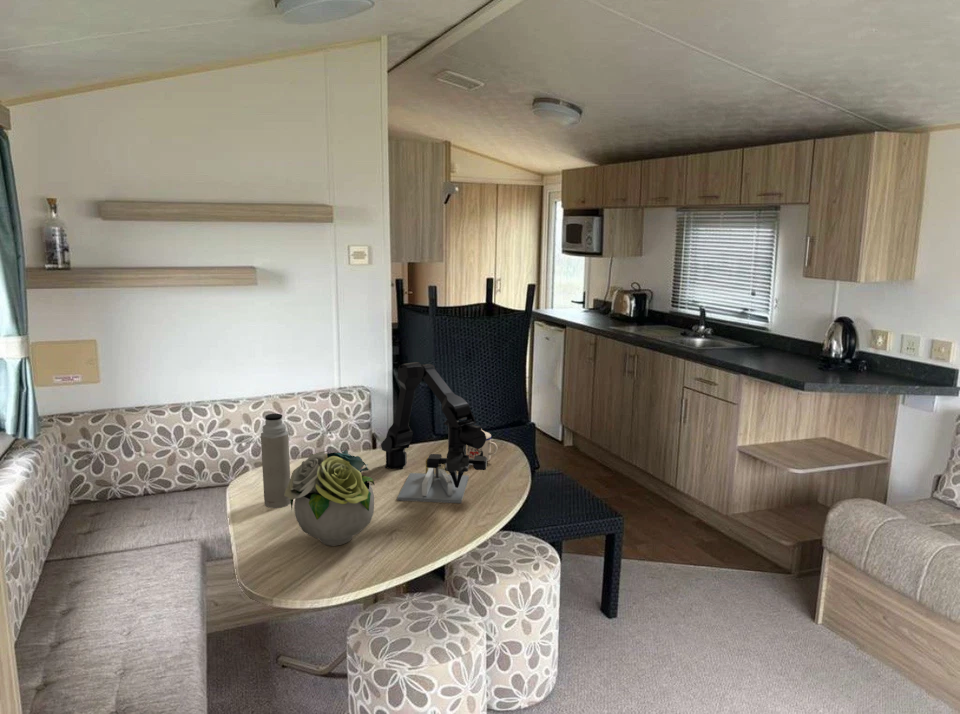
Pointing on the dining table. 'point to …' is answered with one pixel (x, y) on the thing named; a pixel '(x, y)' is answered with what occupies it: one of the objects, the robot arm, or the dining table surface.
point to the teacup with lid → (484, 450)
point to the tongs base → (431, 488)
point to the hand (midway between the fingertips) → (456, 487)
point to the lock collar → (428, 468)
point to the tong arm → (445, 481)
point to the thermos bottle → (275, 461)
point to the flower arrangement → (331, 496)
